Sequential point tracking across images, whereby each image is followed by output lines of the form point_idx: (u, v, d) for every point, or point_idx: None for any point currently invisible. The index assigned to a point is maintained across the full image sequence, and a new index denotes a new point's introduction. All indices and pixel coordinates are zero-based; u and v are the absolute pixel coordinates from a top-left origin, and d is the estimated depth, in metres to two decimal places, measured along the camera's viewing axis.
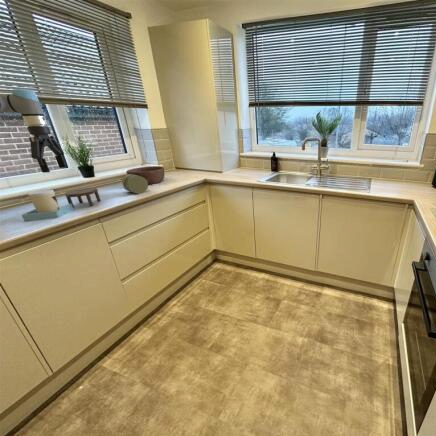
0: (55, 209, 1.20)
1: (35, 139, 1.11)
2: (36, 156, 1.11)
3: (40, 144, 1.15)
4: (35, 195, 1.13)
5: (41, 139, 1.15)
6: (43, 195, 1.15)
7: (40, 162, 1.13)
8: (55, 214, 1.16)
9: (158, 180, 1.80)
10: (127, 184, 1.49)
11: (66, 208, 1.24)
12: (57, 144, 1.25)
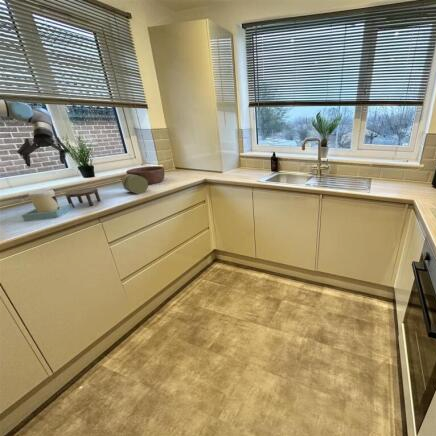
0: (55, 209, 1.20)
1: None
2: (68, 150, 1.34)
3: None
4: (35, 195, 1.13)
5: None
6: (43, 195, 1.15)
7: (64, 154, 1.32)
8: (55, 214, 1.16)
9: (158, 180, 1.80)
10: (127, 184, 1.49)
11: (66, 208, 1.24)
12: None
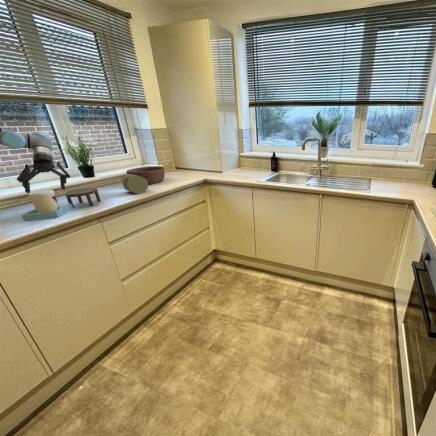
0: (55, 209, 1.20)
1: None
2: (69, 175, 1.30)
3: None
4: (35, 195, 1.13)
5: None
6: (43, 195, 1.15)
7: (65, 180, 1.28)
8: (55, 214, 1.16)
9: (158, 180, 1.80)
10: (127, 184, 1.49)
11: (66, 208, 1.24)
12: None
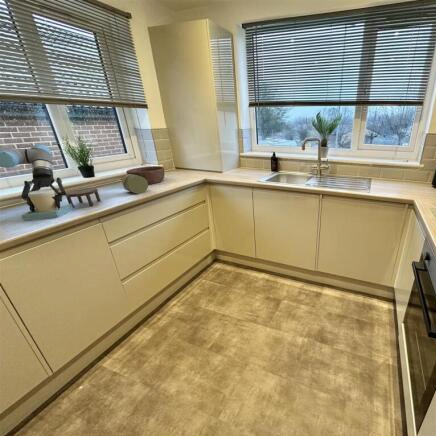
0: (55, 209, 1.20)
1: (61, 181, 1.26)
2: (65, 193, 1.24)
3: None
4: (35, 195, 1.13)
5: None
6: (43, 195, 1.15)
7: (61, 197, 1.22)
8: (55, 214, 1.16)
9: (158, 180, 1.80)
10: (127, 184, 1.49)
11: (66, 208, 1.24)
12: None
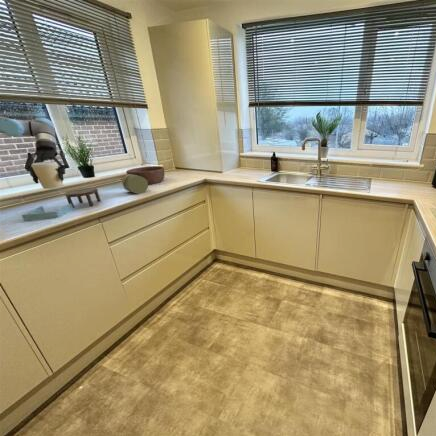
0: (58, 181, 1.20)
1: (64, 155, 1.26)
2: (68, 166, 1.24)
3: None
4: (38, 166, 1.13)
5: None
6: (46, 166, 1.15)
7: (64, 170, 1.22)
8: (55, 214, 1.16)
9: (158, 180, 1.80)
10: (127, 184, 1.49)
11: (66, 208, 1.24)
12: None
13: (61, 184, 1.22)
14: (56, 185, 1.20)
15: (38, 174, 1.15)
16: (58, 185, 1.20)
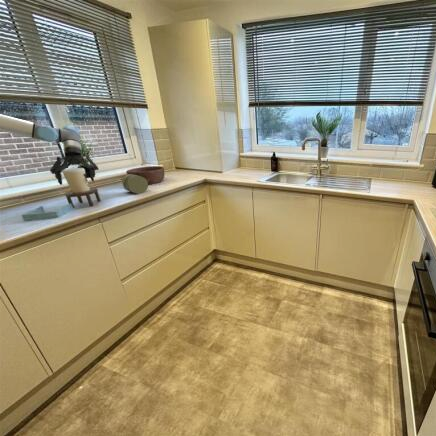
0: (85, 186, 1.31)
1: None
2: None
3: None
4: (69, 172, 1.24)
5: None
6: (76, 172, 1.26)
7: (94, 172, 1.34)
8: (55, 214, 1.16)
9: (158, 180, 1.80)
10: (127, 184, 1.49)
11: (66, 208, 1.24)
12: None
13: (88, 188, 1.33)
14: (84, 190, 1.31)
15: (68, 179, 1.26)
16: (85, 189, 1.31)
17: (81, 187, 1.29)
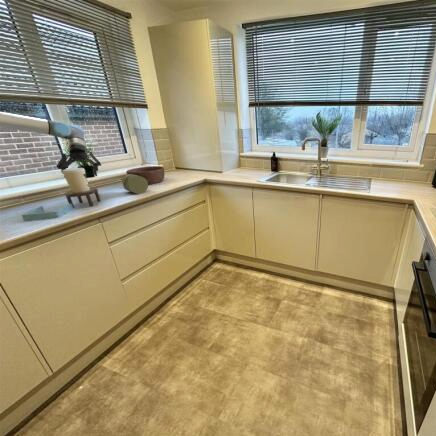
0: (85, 186, 1.31)
1: None
2: (100, 164, 1.46)
3: None
4: (69, 172, 1.24)
5: None
6: (76, 172, 1.26)
7: (97, 167, 1.44)
8: (55, 214, 1.16)
9: (158, 180, 1.80)
10: (127, 184, 1.49)
11: (66, 208, 1.24)
12: None
13: (88, 188, 1.33)
14: (84, 190, 1.31)
15: (68, 179, 1.26)
16: (85, 189, 1.31)
17: (81, 187, 1.29)
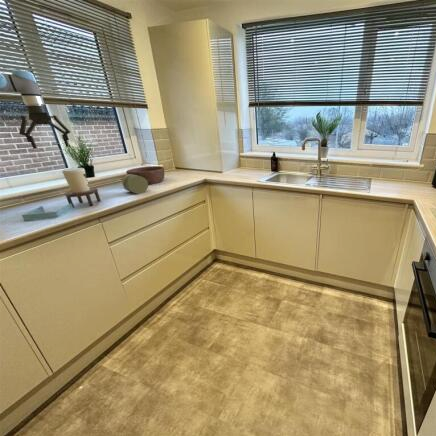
0: (85, 186, 1.31)
1: None
2: (69, 131, 1.35)
3: (51, 122, 1.30)
4: (69, 172, 1.24)
5: None
6: (76, 172, 1.26)
7: (67, 137, 1.35)
8: (55, 214, 1.16)
9: (158, 180, 1.80)
10: (127, 184, 1.49)
11: (66, 208, 1.24)
12: None
13: (88, 188, 1.33)
14: (84, 190, 1.31)
15: (68, 179, 1.26)
16: (85, 189, 1.31)
17: (81, 187, 1.29)
